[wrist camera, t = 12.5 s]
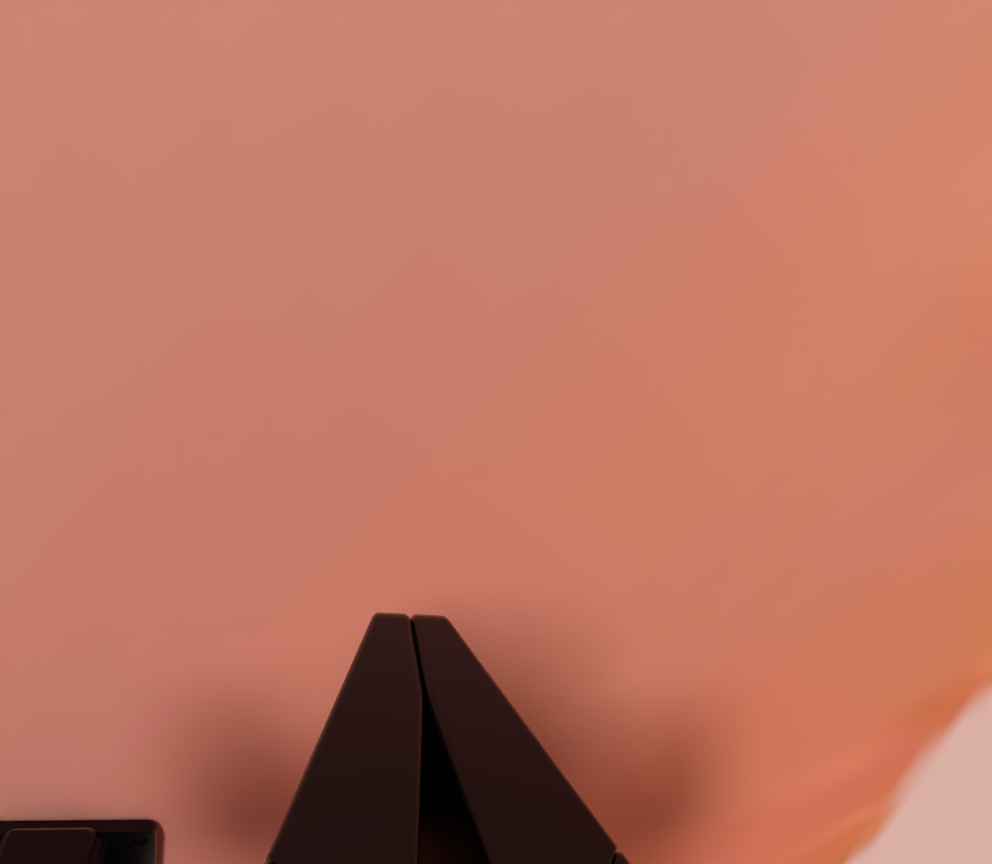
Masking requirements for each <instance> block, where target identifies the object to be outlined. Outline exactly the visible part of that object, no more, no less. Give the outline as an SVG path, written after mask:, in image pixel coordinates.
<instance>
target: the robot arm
mask: <svg viewBox="0 0 992 864" xmlns="http://www.w3.org/2000/svg"><path fill="white" fill-rule="evenodd" d="M157 835H158V829H157V826H156V825H155V824H153V823H151V822H147V821H105V822H19V823H0V864H156V862H157ZM616 851H617V846H616V844H615V843H614V842H613V840H612V839H611V838H610V836H609V835H608V834H607V832H606V831H605V829H604V828H603V827H602V825H601V824H600V823H599V821H598V820H597V819H596V817H595V816H594V815H593V813H592V812H591V811H590V809H589V808H588V807H587V805H586V804H585V803H584V801H583V800H582V799H581V797H580V796H579V795H578V793H577V792H576V790H575V789H574V788H573V786H572V785H571V784H570V782H569V781H568V780H567V778H566V777H565V776H564V774H563V773H562V772H561V770H560V769H559V768H558V766H557V765H556V764H555V762H554V761H553V760H552V758H551V757H550V755H549V754H548V753H547V751H546V750H545V749H544V747H543V746H542V745H541V743H540V742H539V741H538V739H537V738H536V737H535V735H534V734H533V733H532V731H531V730H530V729H529V727H528V726H527V725H526V723H525V722H524V721H523V719H522V718H521V716H520V715H519V714H518V712H517V711H516V710H515V708H514V707H513V706H512V704H511V703H510V702H509V700H508V699H507V698H506V696H505V695H504V694H503V692H502V691H501V690H500V688H499V687H498V686H497V684H496V683H495V681H494V680H493V679H492V677H491V676H490V675H489V673H488V672H487V671H486V669H485V668H484V667H483V665H482V664H481V663H480V661H479V660H478V659H477V657H476V656H475V655H474V653H473V652H472V651H471V649H470V648H469V647H468V645H467V644H466V642H465V641H464V640H463V638H462V637H461V636H460V634H459V633H458V632H457V630H456V629H455V628H454V626H453V625H452V624H451V622H450V621H449V620H448V619H447V618H446V617H444V616H438V615H418V614H417V615H414V616H412V617H411V618H409V617H408V616H407V615H406V614H398V613H376V614H375V615H374V616H373V617H372V619H371V621H370V623H369V626H368V628H367V630H366V632H365V635H364V637H363V639H362V642H361V644H360V646H359V648H358V651H357V653H356V655H355V658H354V660H353V662H352V664H351V667H350V669H349V671H348V673H347V676H346V678H345V680H344V683H343V685H342V687H341V689H340V692H339V694H338V696H337V698H336V701H335V703H334V705H333V708H332V710H331V712H330V714H329V717H328V719H327V721H326V723H325V726H324V728H323V730H322V733H321V735H320V737H319V739H318V742H317V744H316V746H315V749H314V751H313V753H312V755H311V758H310V760H309V762H308V764H307V767H306V769H305V771H304V774H303V776H302V778H301V780H300V783H299V785H298V787H297V789H296V792H295V794H294V796H293V799H292V801H291V803H290V805H289V808H288V810H287V812H286V814H285V817H284V819H283V821H282V824H281V826H280V828H279V830H278V833H277V835H276V837H275V840H274V842H273V844H272V846H271V849H270V851H269V853H268V855H267V860H266V863H264V864H630V863H629V861H628V860H627V859H626V857H625V856H624V855H623V853H621V852H618V853H616ZM615 854H616V855H615Z"/></svg>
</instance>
